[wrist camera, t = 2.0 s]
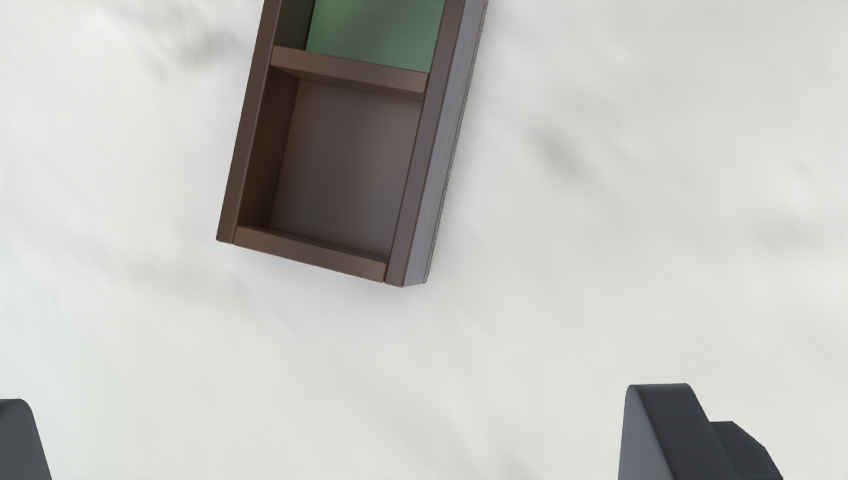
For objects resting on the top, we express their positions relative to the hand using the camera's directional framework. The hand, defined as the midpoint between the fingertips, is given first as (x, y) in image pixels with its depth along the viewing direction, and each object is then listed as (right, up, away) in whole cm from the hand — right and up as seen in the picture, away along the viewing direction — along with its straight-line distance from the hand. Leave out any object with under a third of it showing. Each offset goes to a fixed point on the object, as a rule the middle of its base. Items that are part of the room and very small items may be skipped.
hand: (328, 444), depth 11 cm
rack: (0, +13, +23) cm, 26 cm away
